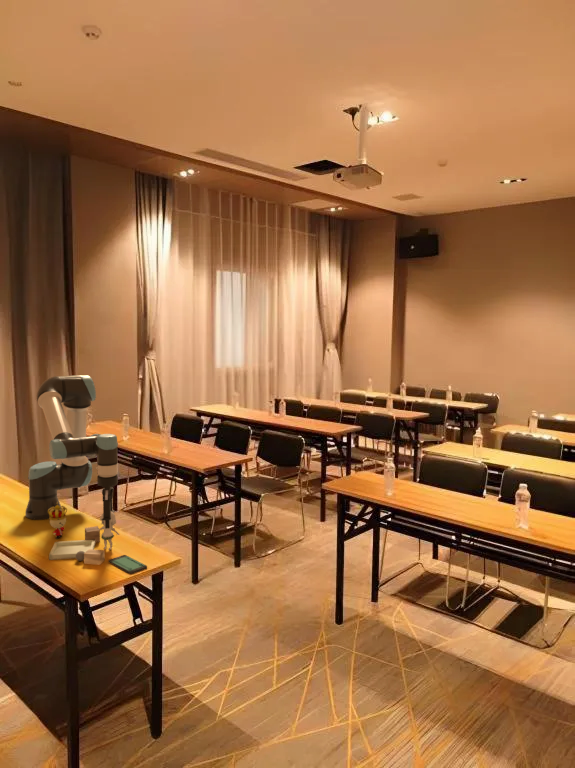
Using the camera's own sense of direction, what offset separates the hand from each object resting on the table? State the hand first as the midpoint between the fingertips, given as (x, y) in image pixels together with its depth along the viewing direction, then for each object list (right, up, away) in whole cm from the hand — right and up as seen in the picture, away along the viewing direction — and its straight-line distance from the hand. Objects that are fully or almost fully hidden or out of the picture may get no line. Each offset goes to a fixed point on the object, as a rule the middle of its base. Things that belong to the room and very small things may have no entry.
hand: (108, 532), depth 222 cm
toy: (-24, -5, +11) cm, 27 cm away
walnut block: (-9, -6, +8) cm, 13 cm away
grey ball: (-7, -8, -11) cm, 15 cm away
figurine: (0, -7, +1) cm, 7 cm away
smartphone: (+11, -9, -14) cm, 20 cm away
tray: (-13, -7, -3) cm, 15 cm away
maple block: (-1, -8, -12) cm, 14 cm away
